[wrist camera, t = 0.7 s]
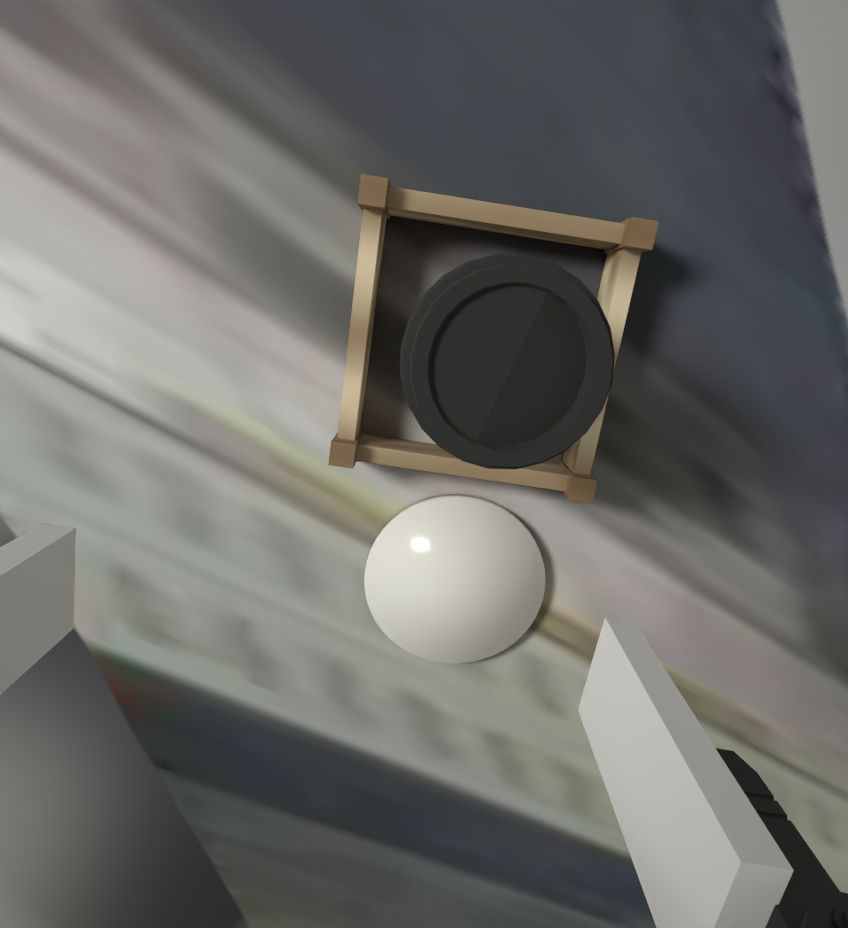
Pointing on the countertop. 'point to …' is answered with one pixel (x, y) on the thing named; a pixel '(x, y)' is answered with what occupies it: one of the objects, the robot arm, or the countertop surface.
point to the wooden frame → (387, 201)
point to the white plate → (454, 578)
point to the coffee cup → (507, 361)
